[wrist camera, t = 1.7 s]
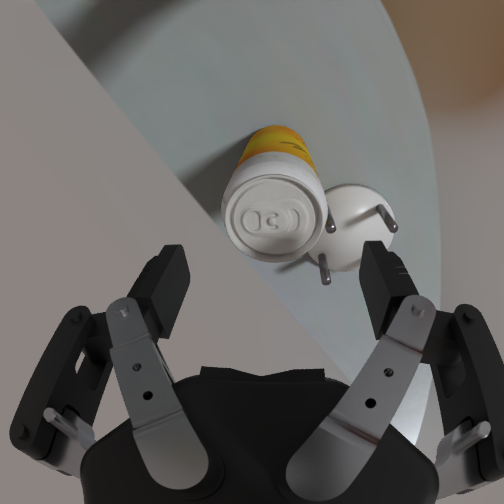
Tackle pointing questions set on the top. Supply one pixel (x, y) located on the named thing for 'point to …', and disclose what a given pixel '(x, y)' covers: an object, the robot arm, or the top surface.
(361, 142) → the top surface
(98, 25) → the top surface
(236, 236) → the beer can
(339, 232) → the pin tray
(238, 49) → the top surface
